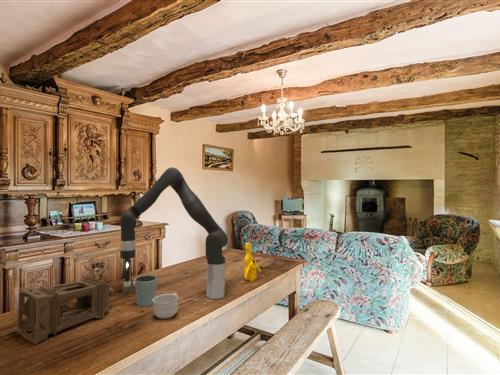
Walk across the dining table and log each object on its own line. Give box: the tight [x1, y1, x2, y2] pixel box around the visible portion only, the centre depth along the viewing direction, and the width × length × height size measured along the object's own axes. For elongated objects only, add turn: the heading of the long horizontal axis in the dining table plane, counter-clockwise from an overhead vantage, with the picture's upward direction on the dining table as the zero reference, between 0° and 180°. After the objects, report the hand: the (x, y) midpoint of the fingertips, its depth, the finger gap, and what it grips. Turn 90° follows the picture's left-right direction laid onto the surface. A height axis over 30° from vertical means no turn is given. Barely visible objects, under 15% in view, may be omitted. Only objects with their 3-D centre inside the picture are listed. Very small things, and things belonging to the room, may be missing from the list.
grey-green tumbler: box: [134, 274, 158, 307], centre depth 144 cm, size 10×10×12 cm
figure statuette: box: [243, 242, 262, 282], centre depth 182 cm, size 18×8×22 cm, turn 147°
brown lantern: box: [16, 274, 115, 346], centre depth 124 cm, size 35×18×18 cm, turn 147°
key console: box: [121, 277, 136, 294], centre depth 163 cm, size 12×14×4 cm
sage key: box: [124, 281, 131, 287], centre depth 159 cm, size 5×3×2 cm
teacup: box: [152, 292, 179, 320], centre depth 132 cm, size 14×11×8 cm
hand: (127, 281), depth 159 cm, fingers closed
